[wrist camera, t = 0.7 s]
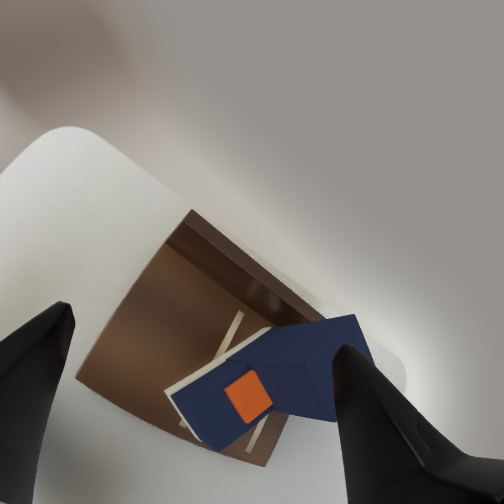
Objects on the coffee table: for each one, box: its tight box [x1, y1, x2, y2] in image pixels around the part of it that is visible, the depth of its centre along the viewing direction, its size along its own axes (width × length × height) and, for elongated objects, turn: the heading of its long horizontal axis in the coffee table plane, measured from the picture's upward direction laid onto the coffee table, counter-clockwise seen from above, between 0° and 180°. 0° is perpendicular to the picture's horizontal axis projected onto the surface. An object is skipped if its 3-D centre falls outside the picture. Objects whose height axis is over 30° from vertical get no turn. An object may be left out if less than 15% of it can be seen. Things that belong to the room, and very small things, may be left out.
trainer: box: [164, 314, 375, 452], centre depth 17 cm, size 10×5×10 cm, turn 122°
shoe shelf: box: [75, 209, 326, 467], centre depth 20 cm, size 14×18×6 cm
